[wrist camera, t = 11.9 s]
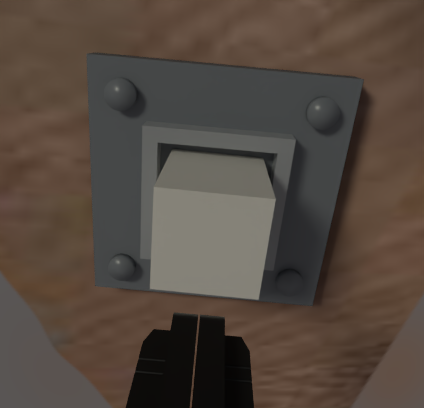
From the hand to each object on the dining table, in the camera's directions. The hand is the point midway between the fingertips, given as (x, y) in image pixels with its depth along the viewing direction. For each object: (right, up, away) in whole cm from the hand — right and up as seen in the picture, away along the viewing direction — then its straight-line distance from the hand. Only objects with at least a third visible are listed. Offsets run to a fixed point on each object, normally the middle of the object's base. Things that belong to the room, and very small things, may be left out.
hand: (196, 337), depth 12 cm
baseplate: (+1, +5, +12) cm, 13 cm away
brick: (+1, +4, +11) cm, 12 cm away
